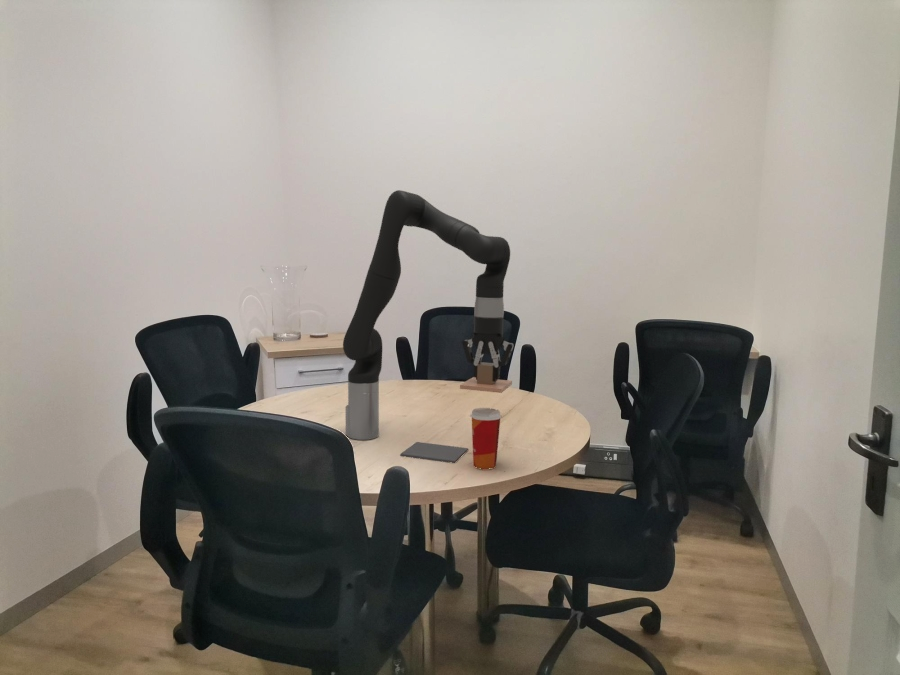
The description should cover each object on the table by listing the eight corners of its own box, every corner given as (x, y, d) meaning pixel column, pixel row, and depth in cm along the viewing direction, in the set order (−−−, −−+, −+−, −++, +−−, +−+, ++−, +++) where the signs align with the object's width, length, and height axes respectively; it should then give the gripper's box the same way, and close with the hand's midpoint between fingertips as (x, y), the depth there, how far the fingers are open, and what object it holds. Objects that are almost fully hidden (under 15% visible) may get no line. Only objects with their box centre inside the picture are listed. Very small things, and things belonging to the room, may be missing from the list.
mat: (400, 455, 171) (400, 453, 170) (416, 443, 182) (416, 441, 182) (454, 463, 165) (454, 461, 165) (468, 450, 177) (468, 448, 177)
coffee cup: (481, 458, 170) (482, 405, 168) (506, 465, 164) (507, 410, 162) (462, 466, 163) (463, 411, 161) (487, 473, 158) (489, 416, 156)
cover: (459, 388, 157) (460, 365, 157) (472, 380, 168) (473, 359, 167) (501, 392, 154) (502, 369, 153) (511, 384, 164) (512, 362, 163)
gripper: (458, 314, 157) (456, 380, 159) (512, 317, 152) (509, 385, 155) (467, 312, 164) (465, 375, 166) (519, 315, 159) (516, 380, 162)
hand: (486, 379), depth 161 cm, fingers closed on cover, 4 cm apart
